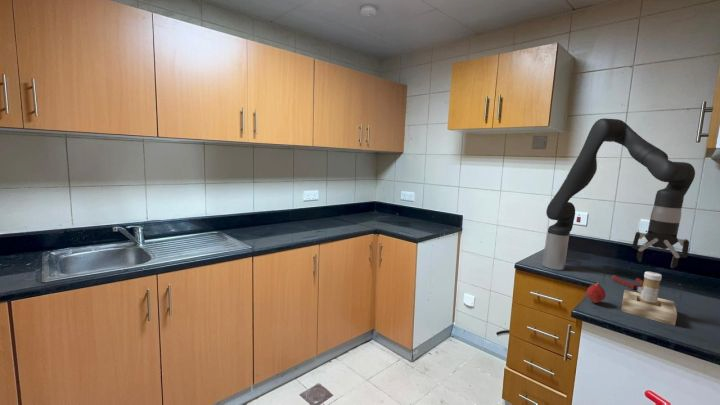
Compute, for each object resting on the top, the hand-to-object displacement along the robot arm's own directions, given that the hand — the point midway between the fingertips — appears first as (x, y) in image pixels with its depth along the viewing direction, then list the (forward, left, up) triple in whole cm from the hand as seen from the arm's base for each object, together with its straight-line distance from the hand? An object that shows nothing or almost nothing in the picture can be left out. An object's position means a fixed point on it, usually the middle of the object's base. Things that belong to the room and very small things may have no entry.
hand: (655, 264), depth 114 cm
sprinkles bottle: (0, 0, -17) cm, 17 cm away
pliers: (-5, +27, -19) cm, 33 cm away
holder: (0, 0, -18) cm, 18 cm away
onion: (-15, -6, -18) cm, 24 cm away
